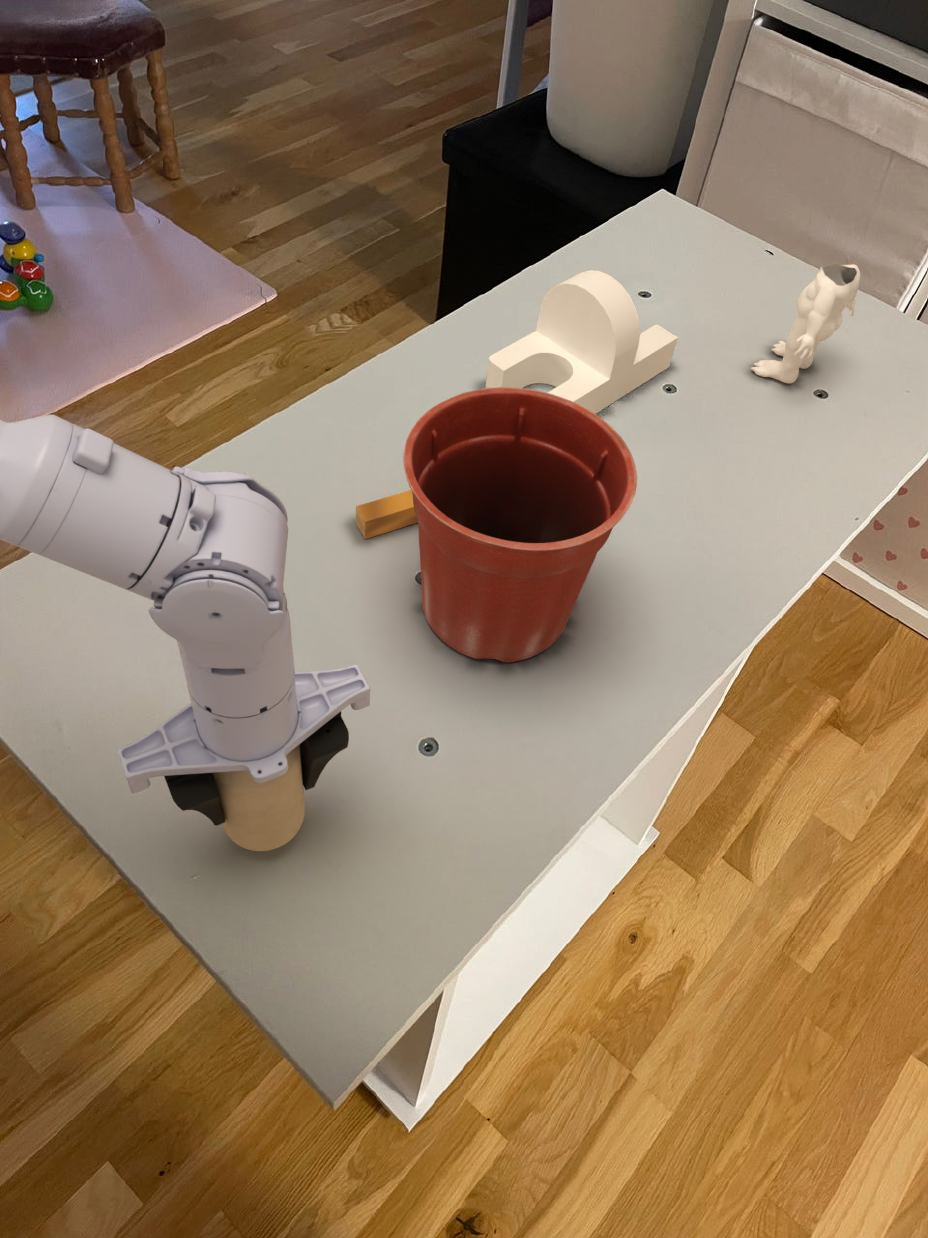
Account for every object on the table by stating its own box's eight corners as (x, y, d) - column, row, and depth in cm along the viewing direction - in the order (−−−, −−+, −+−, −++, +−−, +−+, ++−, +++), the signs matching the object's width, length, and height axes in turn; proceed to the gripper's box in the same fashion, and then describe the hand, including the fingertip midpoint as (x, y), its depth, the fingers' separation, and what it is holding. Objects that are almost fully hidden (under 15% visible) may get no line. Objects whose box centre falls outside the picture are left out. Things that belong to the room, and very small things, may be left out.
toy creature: (787, 332, 109) (828, 232, 100) (837, 356, 107) (883, 257, 98) (735, 382, 103) (773, 280, 94) (787, 408, 101) (831, 307, 92)
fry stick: (365, 539, 85) (365, 521, 83) (355, 523, 86) (355, 506, 84) (506, 495, 90) (509, 477, 88) (496, 480, 91) (498, 463, 89)
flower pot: (595, 544, 87) (635, 400, 74) (594, 699, 77) (640, 562, 64) (409, 522, 87) (417, 374, 74) (384, 674, 77) (388, 532, 64)
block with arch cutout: (599, 322, 108) (619, 228, 99) (669, 367, 104) (697, 273, 95) (482, 388, 99) (493, 292, 90) (553, 440, 95) (572, 344, 86)
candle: (312, 783, 68) (306, 704, 60) (296, 857, 65) (287, 783, 57) (233, 773, 68) (216, 692, 60) (212, 846, 65) (192, 771, 57)
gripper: (126, 783, 49) (167, 893, 59) (394, 684, 54) (387, 802, 64) (89, 675, 52) (134, 797, 63) (343, 592, 57) (345, 718, 68)
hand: (259, 793), depth 64 cm, fingers closed on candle, 5 cm apart
